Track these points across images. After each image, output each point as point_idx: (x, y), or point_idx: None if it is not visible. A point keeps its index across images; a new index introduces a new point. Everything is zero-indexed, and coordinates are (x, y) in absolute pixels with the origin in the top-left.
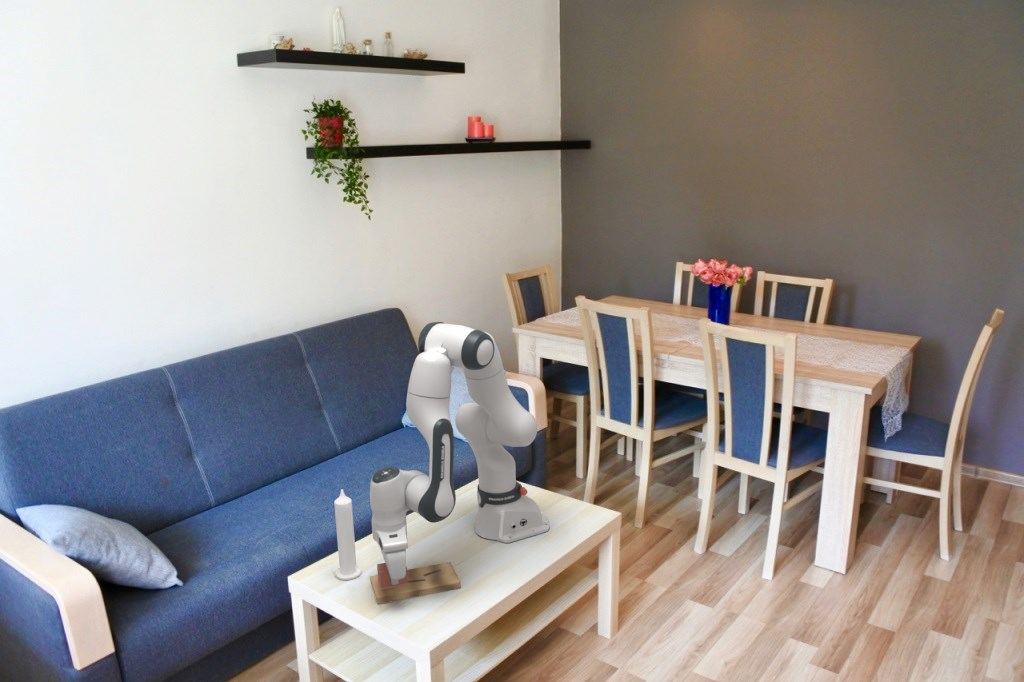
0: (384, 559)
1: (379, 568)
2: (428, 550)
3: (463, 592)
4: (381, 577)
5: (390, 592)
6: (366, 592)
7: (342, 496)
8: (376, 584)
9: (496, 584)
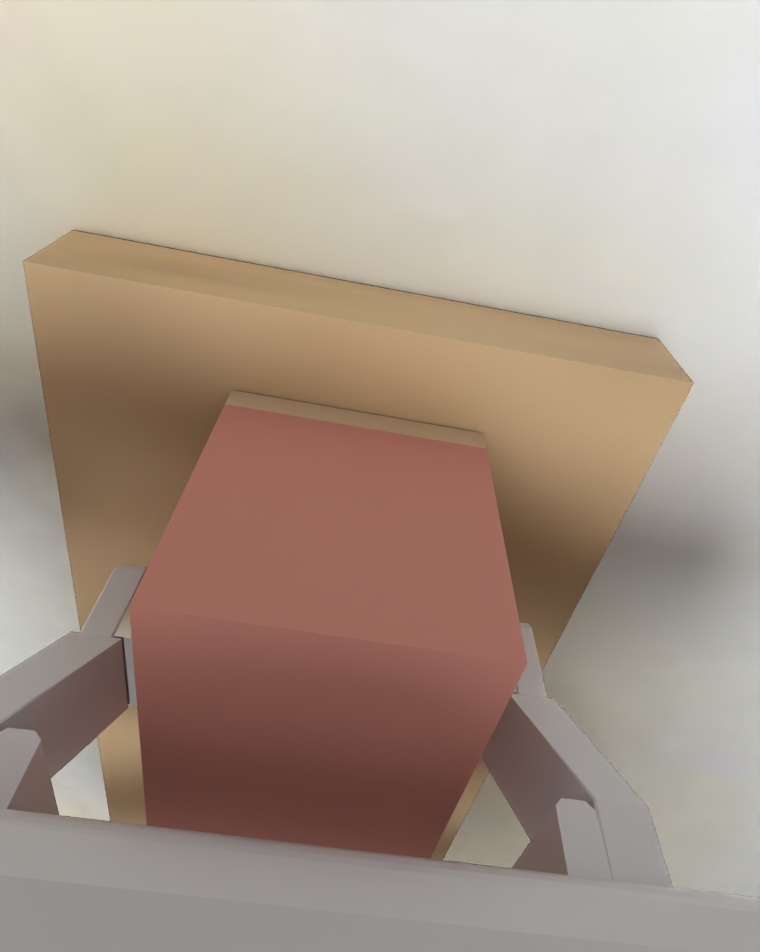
0: (285, 928)
1: (314, 648)
2: (732, 841)
3: (76, 812)
4: (169, 540)
5: (128, 467)
6: (452, 194)
7: None
8: (416, 384)
9: None
